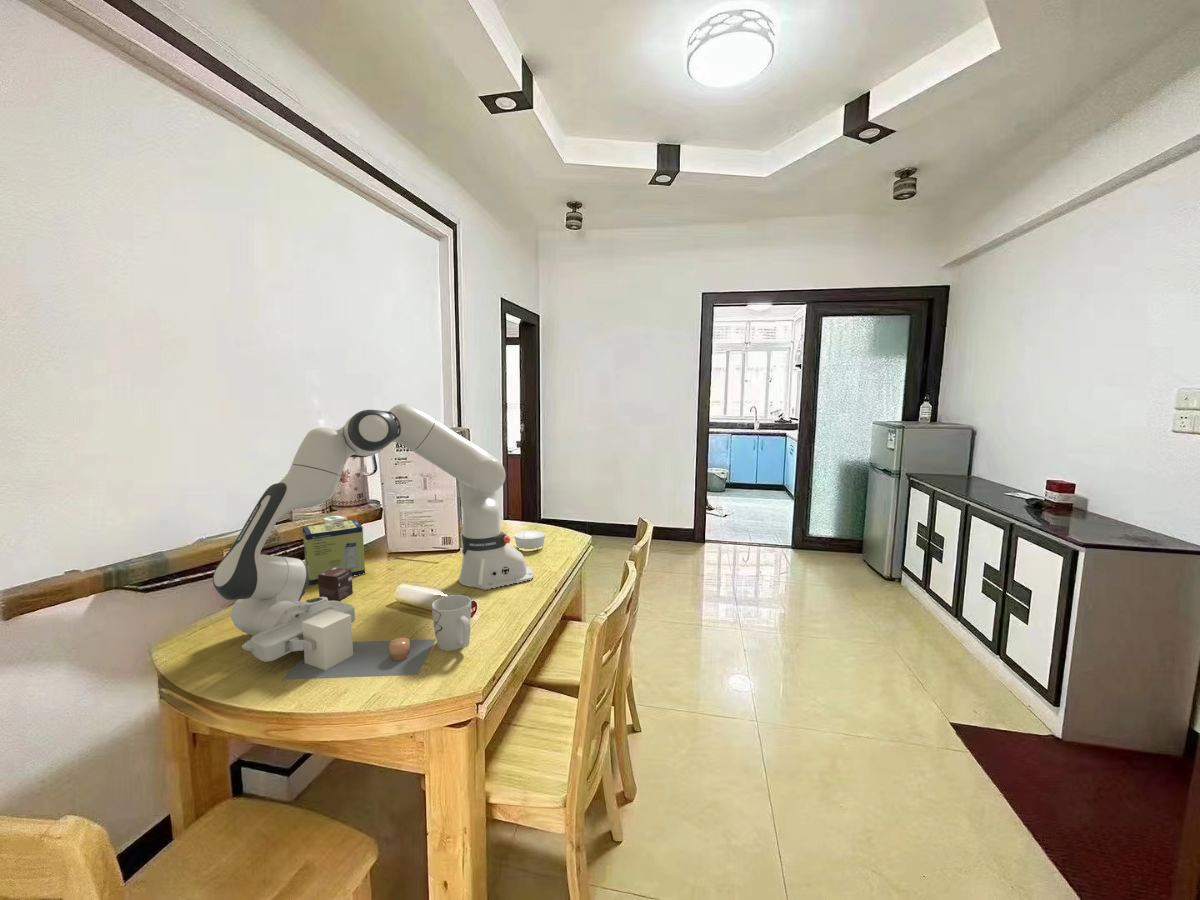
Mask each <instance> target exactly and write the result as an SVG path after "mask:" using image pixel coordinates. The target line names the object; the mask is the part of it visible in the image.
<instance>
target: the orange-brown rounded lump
mask: <svg viewBox="0 0 1200 900" xmlns="http://www.w3.org/2000/svg"><path fill="white" fill-rule="evenodd" d="M409 640H410V639H409V638H408V637H397V638H395V639H392V640H390V641H391V642H390V643H389V651H390V657H392V659H393V660H396V661H399V660H403V659H405V658H407V657H408V654H409V653H410V641H409Z"/></svg>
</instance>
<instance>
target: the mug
mask: <svg viewBox="0 0 1200 900" xmlns="http://www.w3.org/2000/svg"><path fill="white" fill-rule="evenodd" d="M431 613H432V615H431V616H432V624H433V629H434V635H435V639H436V643H437V647H438V648H439V649H440V650H443V651H447V652H448V651H450V652H451V651H456V650H457V651H458V650H461V649H464V648H467V647H469V645H470V638H471V637H470V636H471V618H472V600H471V598H470V597H469V596H466V595H463V594H453V595H452V594H451V595H445V596H442V597H439V598H437V599H436V600H434V601H433V602H432V604H431Z"/></svg>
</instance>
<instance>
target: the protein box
mask: <svg viewBox="0 0 1200 900" xmlns="http://www.w3.org/2000/svg"><path fill="white" fill-rule="evenodd" d="M363 528H364V527H363V526H362V525H361V524H360V523H359V521H358V520H357V519H351V520H347V521H343V522H336V523H329V524H323V523H322V524H317V525H309V526H308V525H307V526H302V537H303V548H304V549H303V551H304V552H303V553H304V561H305V562H304V563H305V565H306V567H307V569H308V574H309V581H308V584H309V586H312V585H317V584H319V581H318V575H319V574H321V573H323V572H325V571H327V570H330V569H332V568H345V569H351V573H352V576H353V577H355V576H354V575H358V576H360V575H359V574H363V573H365V574H366V568H365V567H366V562H365V544H364V532H363V531H364V529H363ZM363 575H364V574H363Z"/></svg>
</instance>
